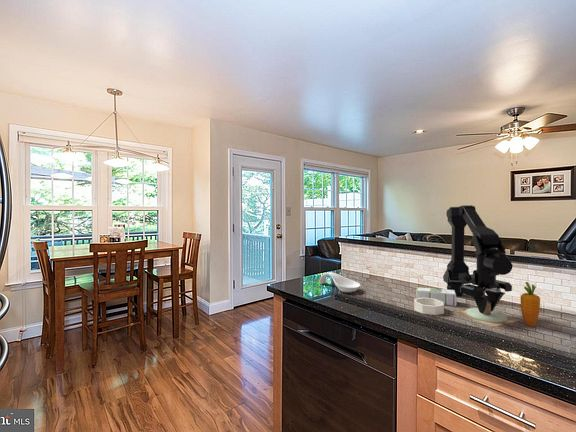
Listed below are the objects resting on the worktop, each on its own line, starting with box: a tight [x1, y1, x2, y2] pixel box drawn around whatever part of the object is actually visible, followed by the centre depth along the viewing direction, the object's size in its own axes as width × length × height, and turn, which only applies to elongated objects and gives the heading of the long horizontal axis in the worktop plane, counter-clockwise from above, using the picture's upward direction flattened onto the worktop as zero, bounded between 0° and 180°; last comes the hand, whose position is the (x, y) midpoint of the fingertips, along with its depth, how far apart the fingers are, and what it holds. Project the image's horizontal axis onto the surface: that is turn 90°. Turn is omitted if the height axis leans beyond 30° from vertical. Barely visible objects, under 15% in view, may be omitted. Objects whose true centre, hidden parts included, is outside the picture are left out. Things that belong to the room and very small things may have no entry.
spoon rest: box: [318, 271, 362, 294], centre depth 146 cm, size 24×12×7 cm, turn 40°
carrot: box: [520, 281, 541, 328], centre depth 95 cm, size 5×5×15 cm
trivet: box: [454, 309, 521, 328], centre depth 104 cm, size 14×14×1 cm
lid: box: [466, 301, 508, 323], centre depth 104 cm, size 12×12×5 cm
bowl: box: [413, 297, 445, 316], centre depth 111 cm, size 10×10×4 cm
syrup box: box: [415, 286, 458, 307], centre depth 120 cm, size 6×6×14 cm
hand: (486, 312), depth 104 cm, fingers open, 4 cm apart
